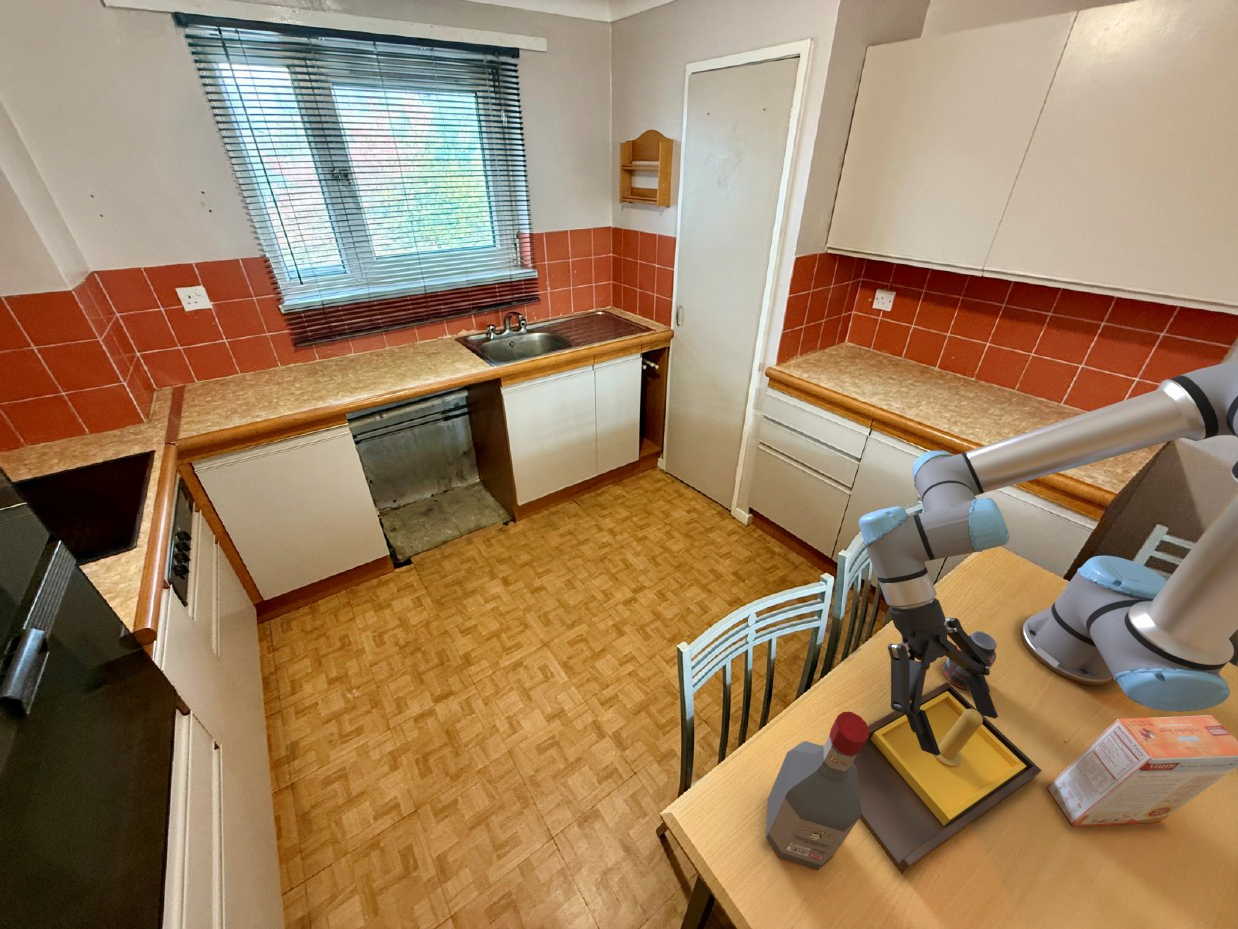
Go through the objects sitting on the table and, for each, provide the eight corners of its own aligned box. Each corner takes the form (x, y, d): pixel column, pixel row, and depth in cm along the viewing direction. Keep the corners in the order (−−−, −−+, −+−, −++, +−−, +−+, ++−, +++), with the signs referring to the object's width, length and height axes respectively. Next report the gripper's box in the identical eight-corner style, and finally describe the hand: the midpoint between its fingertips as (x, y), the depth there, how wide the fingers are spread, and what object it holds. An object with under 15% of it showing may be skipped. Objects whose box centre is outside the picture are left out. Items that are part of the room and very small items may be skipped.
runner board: (940, 691, 95) (947, 681, 93) (1032, 779, 82) (1042, 770, 80) (817, 760, 84) (822, 751, 82) (901, 874, 72) (909, 866, 70)
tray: (942, 697, 92) (972, 654, 84) (1019, 773, 82) (1061, 731, 74) (870, 739, 86) (895, 696, 78) (944, 826, 75) (981, 786, 68)
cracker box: (1125, 782, 82) (1214, 712, 70) (1159, 825, 77) (1260, 758, 65) (1042, 784, 82) (1116, 715, 70) (1070, 828, 77) (1156, 761, 65)
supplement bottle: (980, 695, 94) (1007, 659, 88) (944, 685, 96) (969, 649, 89) (973, 668, 99) (998, 631, 92) (939, 659, 100) (962, 622, 94)
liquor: (830, 877, 71) (902, 779, 54) (764, 855, 73) (813, 754, 56) (826, 807, 78) (888, 701, 61) (766, 789, 80) (810, 681, 63)
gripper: (943, 578, 90) (988, 697, 88) (838, 626, 81) (885, 760, 79) (984, 577, 83) (1034, 707, 81) (874, 630, 74) (926, 777, 72)
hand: (960, 733), depth 80 cm, fingers open, 13 cm apart
